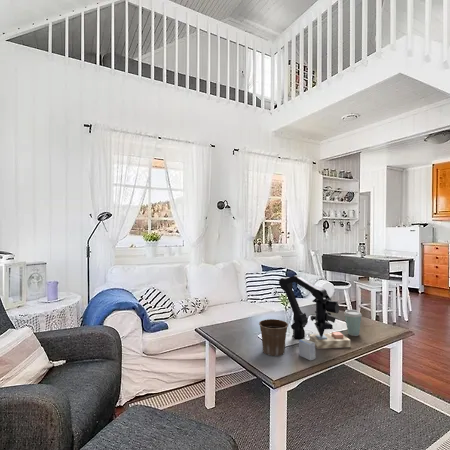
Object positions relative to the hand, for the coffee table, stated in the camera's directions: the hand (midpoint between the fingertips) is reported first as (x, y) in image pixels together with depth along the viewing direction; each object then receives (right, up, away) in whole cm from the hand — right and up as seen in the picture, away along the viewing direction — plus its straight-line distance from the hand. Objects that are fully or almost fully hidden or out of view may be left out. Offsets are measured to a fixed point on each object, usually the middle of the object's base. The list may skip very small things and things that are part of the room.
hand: (321, 336), depth 183 cm
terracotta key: (+10, -2, +1) cm, 10 cm away
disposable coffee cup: (+26, -5, +16) cm, 30 cm away
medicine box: (-13, -5, -17) cm, 23 cm away
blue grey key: (0, -3, 0) cm, 3 cm away
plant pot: (-30, -5, -10) cm, 32 cm away
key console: (+5, -5, 0) cm, 7 cm away
